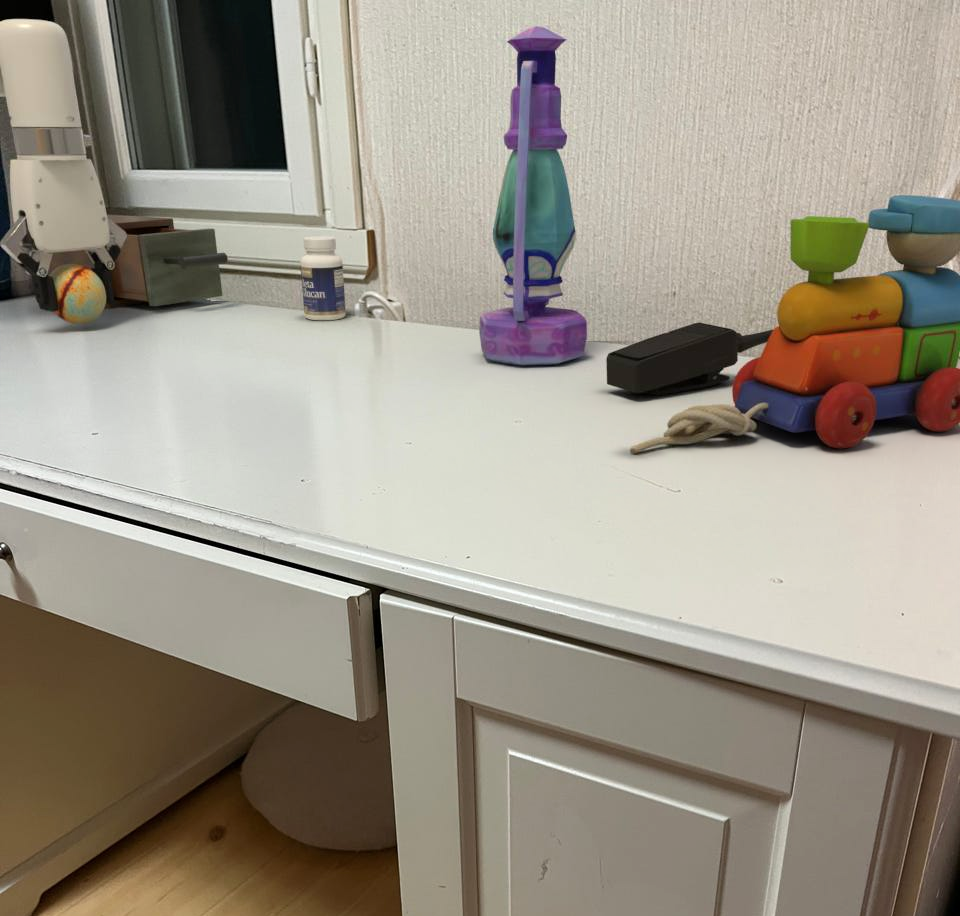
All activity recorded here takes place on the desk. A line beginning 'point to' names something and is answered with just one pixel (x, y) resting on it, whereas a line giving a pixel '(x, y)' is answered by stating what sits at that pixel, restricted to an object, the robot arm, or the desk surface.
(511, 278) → the lantern
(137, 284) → the drawer
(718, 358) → the walkie-talkie
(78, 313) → the ball
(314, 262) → the pill bottle
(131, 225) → the cabinet
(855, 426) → the toy train
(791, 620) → the desk surface
